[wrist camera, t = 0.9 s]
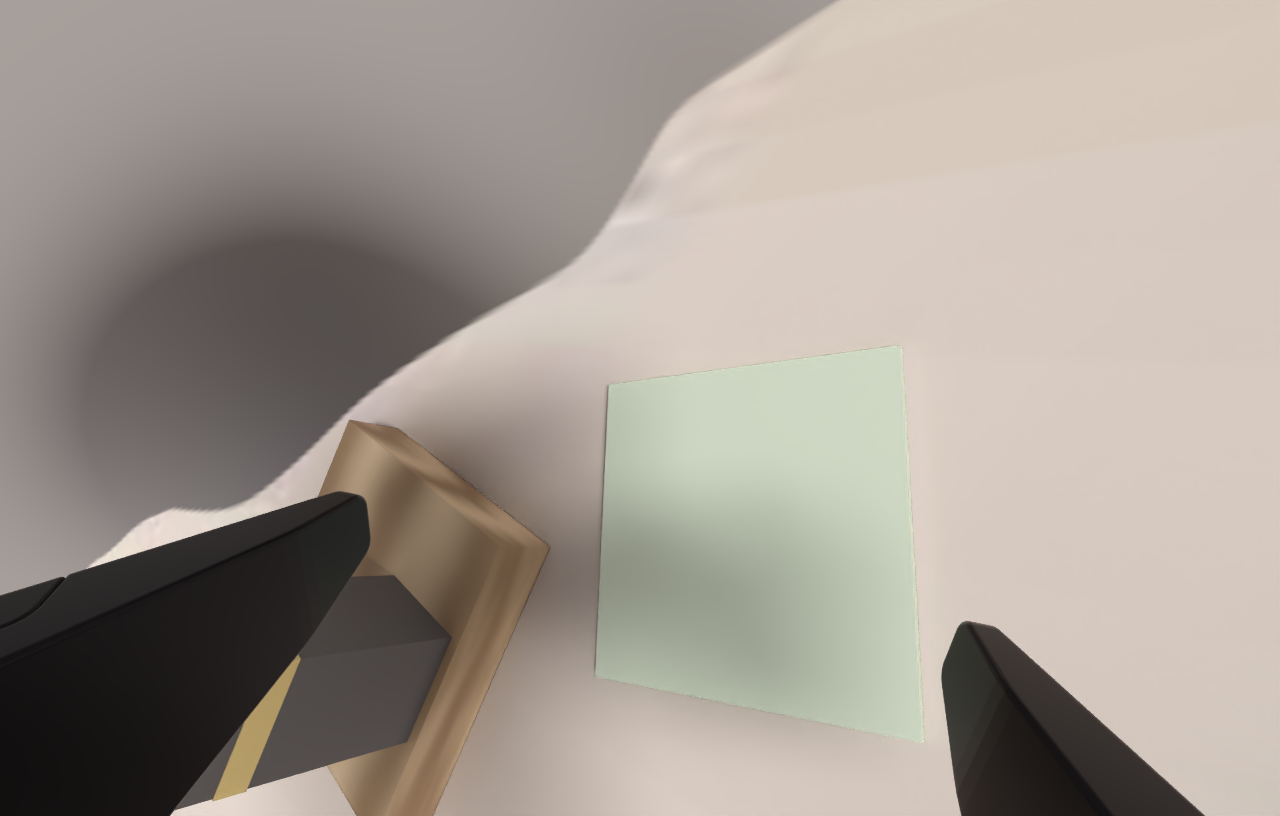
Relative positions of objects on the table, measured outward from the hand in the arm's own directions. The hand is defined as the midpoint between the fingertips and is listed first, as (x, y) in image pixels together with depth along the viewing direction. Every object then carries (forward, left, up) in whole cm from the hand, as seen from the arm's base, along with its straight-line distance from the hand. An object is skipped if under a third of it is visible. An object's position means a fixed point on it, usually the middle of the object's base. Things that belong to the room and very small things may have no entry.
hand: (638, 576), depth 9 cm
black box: (-5, +20, -10) cm, 23 cm away
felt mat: (+1, +5, -13) cm, 14 cm away
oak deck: (-3, +23, -13) cm, 27 cm away
